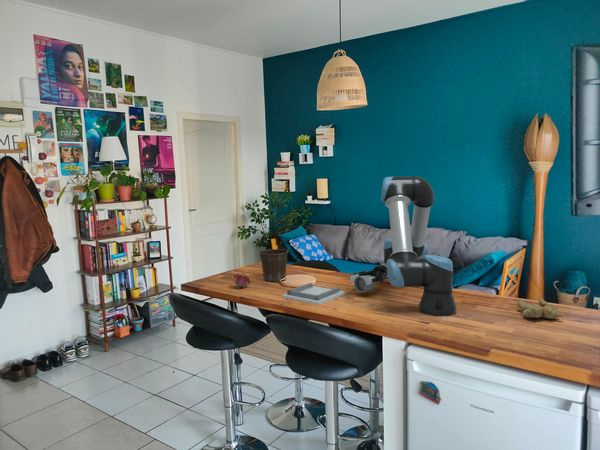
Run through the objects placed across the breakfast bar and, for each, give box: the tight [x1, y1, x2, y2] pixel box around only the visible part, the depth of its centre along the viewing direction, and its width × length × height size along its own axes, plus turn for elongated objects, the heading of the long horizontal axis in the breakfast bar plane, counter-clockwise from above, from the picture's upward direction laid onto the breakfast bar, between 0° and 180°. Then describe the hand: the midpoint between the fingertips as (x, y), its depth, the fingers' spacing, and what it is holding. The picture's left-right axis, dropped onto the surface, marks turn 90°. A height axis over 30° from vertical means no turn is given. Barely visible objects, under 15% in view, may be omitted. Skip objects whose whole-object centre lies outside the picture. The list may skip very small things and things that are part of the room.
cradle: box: [281, 282, 346, 306], centre depth 217 cm, size 22×22×3 cm
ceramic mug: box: [352, 275, 377, 293], centre depth 217 cm, size 11×8×8 cm
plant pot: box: [258, 248, 289, 283], centre depth 250 cm, size 16×16×16 cm
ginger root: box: [516, 297, 564, 320], centre depth 179 cm, size 16×16×8 cm
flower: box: [232, 273, 251, 290], centre depth 235 cm, size 10×9×8 cm
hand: (359, 280), depth 212 cm, fingers closed on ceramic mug, 8 cm apart
